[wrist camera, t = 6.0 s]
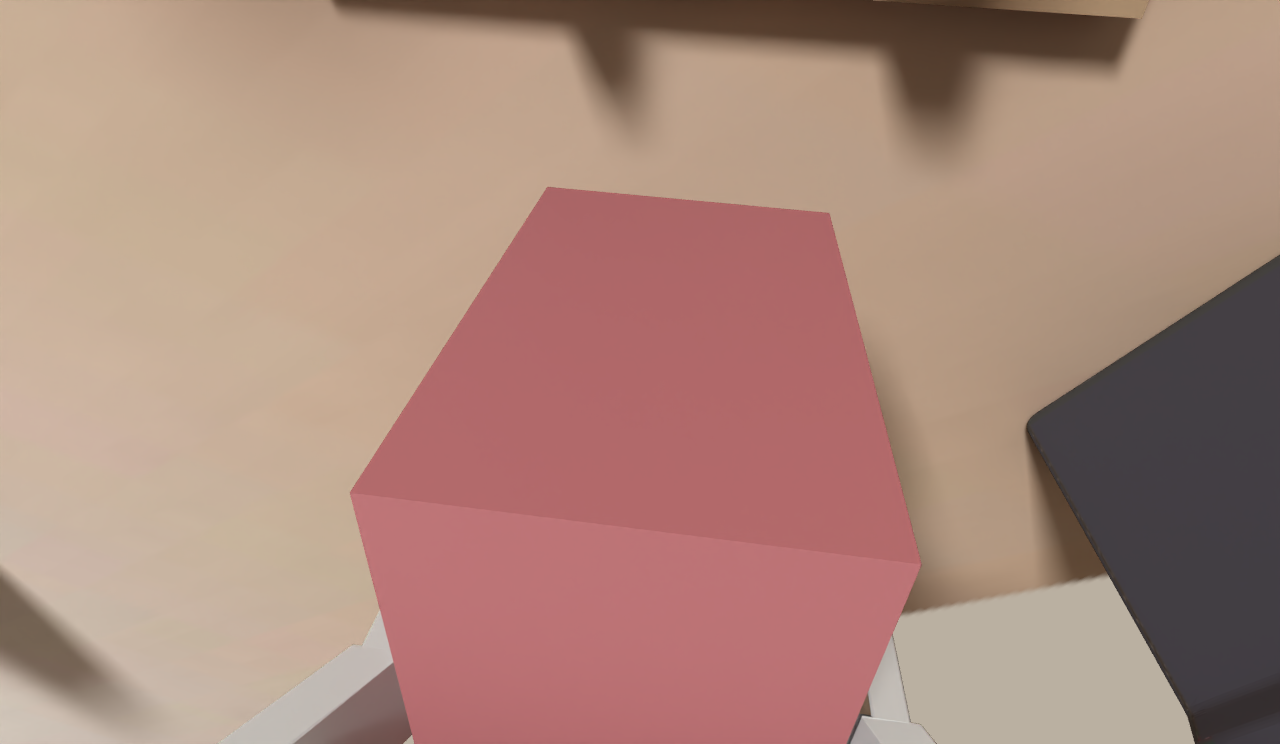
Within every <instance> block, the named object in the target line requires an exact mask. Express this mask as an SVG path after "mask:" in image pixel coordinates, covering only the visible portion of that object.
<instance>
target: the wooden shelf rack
mask: <svg viewBox="0 0 1280 744" xmlns="http://www.w3.org/2000/svg"><path fill="white" fill-rule="evenodd" d="M875 1H890V2H904V3H919V4H934V5H948V6H963V7H978V8H992V9H1007V10H1022V11H1036V12H1051V13H1065V14H1080V15H1095V16H1109V17H1124V18H1139V19H1142V17H1143V14H1144V12H1145V9H1146V7H1147V4H1148V2H1149V0H875Z"/></svg>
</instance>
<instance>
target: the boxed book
mask: <svg viewBox="0 0 1280 744" xmlns="http://www.w3.org/2000/svg"><path fill="white" fill-rule="evenodd" d="M350 495H351V499H352V503H353V507H354V511H355V515H356V519H357V522H358V526H359V530H360V534H361V538H362V542H363V546H364V550H365V554H366V557H367V561H368V565H369V569H370V573H371V577H372V581H373V585H374V589H375V592H376V596H377V600H378V604H379V608H380V612H381V616H382V620H383V623H384V627H385V631H386V635H387V639H388V643H389V647H390V651H391V655H392V658H393V662H394V666H395V670H396V674H397V678H398V682H399V686H400V689H401V693H402V697H403V701H404V705H405V709H406V713H407V717H408V721H409V724H410V728H411V732H412V735H413V740H414V744H846V743H847V741H848V738H849V736H850V733H851V731H852V729H853V726H854V724H855V722H856V719H857V717H858V715H859V712H860V710H861V707H862V705H863V703H864V700H865V698H866V696H867V693H868V691H869V688H870V686H871V684H872V681H873V679H874V677H875V674H876V672H877V669H878V667H879V665H880V662H881V660H882V658H883V655H884V653H885V650H886V648H887V646H888V643H889V641H890V639H891V636H892V634H893V631H894V629H895V627H896V624H897V622H898V620H899V617H900V615H901V612H902V610H903V608H904V605H905V603H906V601H907V598H908V596H909V593H910V591H911V589H912V586H913V584H914V582H915V579H916V577H917V574H918V572H919V570H920V567H921V565H922V564H921V560H920V556H919V553H918V549H917V545H916V541H915V537H914V534H913V530H912V526H911V522H910V518H909V514H908V511H907V507H906V503H905V499H904V495H903V492H902V488H901V484H900V480H899V476H898V473H897V469H896V465H895V461H894V457H893V454H892V450H891V446H890V442H889V438H888V435H887V431H886V427H885V423H884V419H883V416H882V412H881V408H880V404H879V400H878V396H877V393H876V389H875V385H874V381H873V377H872V374H871V370H870V366H869V362H868V358H867V355H866V351H865V347H864V343H863V339H862V336H861V332H860V328H859V324H858V320H857V317H856V313H855V309H854V305H853V301H852V298H851V294H850V290H849V286H848V282H847V279H846V275H845V271H844V267H843V263H842V259H841V256H840V252H839V248H838V244H837V240H836V237H835V233H834V229H833V225H832V221H831V218H830V214H829V213H823V212H812V211H801V210H790V209H780V208H769V207H758V206H747V205H736V204H726V203H715V202H704V201H693V200H682V199H672V198H661V197H650V196H639V195H628V194H618V193H607V192H596V191H585V190H574V189H564V188H553V187H547V188H546V190H545V192H544V193H543V195H542V196H541V198H540V199H539V201H538V202H537V204H536V205H535V207H534V209H533V210H532V212H531V213H530V215H529V216H528V218H527V219H526V221H525V222H524V224H523V226H522V227H521V229H520V230H519V232H518V233H517V235H516V236H515V238H514V239H513V241H512V243H511V244H510V246H509V247H508V249H507V250H506V252H505V253H504V255H503V256H502V258H501V260H500V261H499V263H498V264H497V266H496V267H495V269H494V270H493V272H492V273H491V275H490V277H489V278H488V280H487V281H486V283H485V284H484V286H483V287H482V289H481V291H480V292H479V294H478V295H477V297H476V298H475V300H474V301H473V303H472V304H471V306H470V308H469V309H468V311H467V312H466V314H465V315H464V317H463V318H462V320H461V321H460V323H459V325H458V326H457V328H456V329H455V331H454V332H453V334H452V335H451V337H450V338H449V340H448V342H447V343H446V345H445V346H444V348H443V349H442V351H441V352H440V354H439V355H438V357H437V359H436V360H435V362H434V363H433V365H432V366H431V368H430V369H429V371H428V373H427V374H426V376H425V377H424V379H423V380H422V382H421V383H420V385H419V386H418V388H417V390H416V391H415V393H414V394H413V396H412V397H411V399H410V400H409V402H408V403H407V405H406V407H405V408H404V410H403V411H402V413H401V414H400V416H399V417H398V419H397V420H396V422H395V424H394V425H393V427H392V428H391V430H390V431H389V433H388V434H387V436H386V437H385V439H384V441H383V442H382V444H381V445H380V447H379V448H378V450H377V451H376V453H375V455H374V456H373V458H372V459H371V461H370V462H369V464H368V465H367V467H366V468H365V470H364V472H363V473H362V475H361V476H360V478H359V479H358V481H357V482H356V484H355V485H354V487H353V489H352V490H351V492H350Z"/></svg>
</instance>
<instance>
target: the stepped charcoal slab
mask: <svg viewBox="0 0 1280 744" xmlns="http://www.w3.org/2000/svg"><path fill="white" fill-rule="evenodd" d="M1027 429H1028V432H1029V434H1030V436H1031V438H1032V439H1033V441H1034V443H1035V445H1036V447H1037V448H1038V450H1039V452H1040V454H1041V455H1042V457H1043V459H1044V461H1045V463H1046V464H1047V466H1048V468H1049V470H1050V472H1051V473H1052V475H1053V477H1054V479H1055V480H1056V482H1057V484H1058V486H1059V488H1060V489H1061V491H1062V493H1063V495H1064V497H1065V498H1066V500H1067V502H1068V504H1069V505H1070V507H1071V509H1072V511H1073V513H1074V514H1075V516H1076V518H1077V520H1078V522H1079V523H1080V525H1081V527H1082V529H1083V530H1084V532H1085V534H1086V536H1087V538H1088V539H1089V541H1090V543H1091V545H1092V546H1093V548H1094V550H1095V552H1096V554H1097V555H1098V557H1099V559H1100V561H1101V563H1102V564H1103V566H1104V568H1105V570H1106V571H1107V573H1108V575H1109V577H1110V579H1111V580H1112V582H1113V584H1114V586H1115V588H1116V589H1117V591H1118V593H1119V595H1120V596H1121V598H1122V600H1123V602H1124V604H1125V605H1126V607H1127V609H1128V611H1129V612H1130V614H1131V616H1132V618H1133V619H1134V621H1135V623H1136V625H1137V627H1138V628H1139V630H1140V632H1141V634H1142V636H1143V638H1144V639H1145V641H1146V643H1147V644H1148V646H1149V648H1150V650H1151V652H1152V654H1153V655H1154V657H1155V658H1156V661H1157V663H1158V664H1159V666H1160V668H1161V670H1162V671H1163V673H1164V675H1165V677H1166V679H1167V680H1168V682H1169V684H1170V686H1171V687H1172V689H1173V691H1174V693H1175V695H1176V696H1177V698H1178V700H1179V702H1180V704H1181V705H1182V707H1183V709H1184V711H1185V713H1186V715H1187V716H1188V720H1189V723H1190V727H1191V731H1192V734H1193V738H1194V742H1195V744H1280V255H1279V256H1277V257H1276V258H1274V259H1273V260H1271V261H1270V262H1268V263H1266V264H1265V265H1263V266H1262V267H1260V268H1259V269H1257V270H1256V271H1254V272H1253V273H1251V274H1250V275H1248V276H1247V277H1245V278H1243V279H1242V280H1240V281H1239V282H1237V283H1236V284H1234V285H1233V286H1231V287H1230V288H1228V289H1227V290H1225V291H1223V292H1222V293H1220V294H1219V295H1217V296H1216V297H1214V298H1213V299H1211V300H1210V301H1208V302H1207V303H1205V304H1203V305H1202V306H1200V307H1199V308H1197V309H1196V310H1194V311H1193V312H1191V313H1190V314H1188V315H1187V316H1185V317H1183V318H1182V319H1180V320H1179V321H1177V322H1176V323H1174V324H1173V325H1171V326H1170V327H1168V328H1167V329H1165V330H1163V331H1162V332H1160V333H1159V334H1157V335H1156V336H1154V337H1153V338H1151V339H1150V340H1148V341H1147V342H1145V343H1144V344H1142V345H1140V346H1139V347H1137V348H1136V349H1134V350H1133V351H1131V352H1130V353H1128V354H1127V355H1125V356H1124V357H1122V358H1120V359H1119V360H1117V361H1116V362H1114V363H1113V364H1111V365H1110V366H1108V367H1107V368H1105V369H1104V370H1102V371H1100V372H1099V373H1097V374H1096V375H1094V376H1093V377H1091V378H1090V379H1088V380H1087V381H1085V382H1084V383H1082V384H1080V385H1079V386H1077V387H1076V388H1074V389H1073V390H1071V391H1070V392H1068V393H1067V394H1065V395H1064V396H1062V397H1060V398H1059V399H1057V400H1056V401H1054V402H1053V403H1051V404H1050V405H1048V406H1047V407H1045V408H1044V409H1042V410H1041V411H1039V412H1038V413H1036V414H1035V415H1033V416H1032V417H1031V418H1030V420H1029V422H1028V424H1027Z"/></svg>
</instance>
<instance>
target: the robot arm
mask: <svg viewBox="0 0 1280 744" xmlns="http://www.w3.org/2000/svg"><path fill="white" fill-rule="evenodd" d="M411 735H412V732H411V728H410V724H409V721H408V717H407V713H406V709H405V705H404V701H403V697H402V693H401V689H400V686H399V682H398V678H397V674H396V670H395V666H394V662H393V658H392V655H391V651H390V647H389V643H388V639H387V635H386V631H385V627H384V623H383V620H382V616H381V612H380V611H379V613H378V615H377V617H376V619H375V621H374V623H373V624H372V626H371V628H370V630H369V632H368V634H367V636H366V638H365V640H364V642H363V644H362V645H356V644H353V645H351V646H350V647H349V648H347V649H346V650H344V651H343V652H342V653H340V654H339V655H338V656H336V657H335V658H333V659H332V660H331V661H329V662H328V663H327V664H325V665H324V666H323V667H321V668H320V669H318V670H317V671H316V672H314V673H313V674H312V675H310V676H309V677H308V678H306V679H305V680H303V681H302V682H301V683H299V684H298V685H297V686H295V687H294V688H292V689H291V690H290V691H288V692H287V693H286V694H284V695H283V696H282V697H280V698H279V699H277V700H276V701H275V702H273V703H272V704H271V705H269V706H268V707H267V708H265V709H264V710H262V711H261V712H260V713H258V714H257V715H256V716H254V717H253V718H251V719H250V720H249V721H247V722H246V723H245V724H243V725H242V726H241V727H239V728H238V729H236V730H235V731H234V732H232V733H231V734H230V735H228V736H227V737H225V738H224V739H223V740H221V741H220V742H219V743H217V744H403V743H404V742H405V741H406V740H407V739H408V738H409V737H410V736H411ZM846 744H936V742H935V741H934V740H933V739H932V737H931V736H930V735H929V734H928V732H927V731H926V730H925V729H924V727H923V726H922V725H921V724H917V723H911V721H910V716H909V711H908V707H907V701H906V697H905V693H904V687H903V682H902V677H901V673H900V668H899V663H898V658H897V653H896V648H895V643H894V638H893V634H892V636H891V639H890V641H889V643H888V646H887V648H886V650H885V653H884V655H883V658H882V660H881V662H880V665H879V667H878V669H877V672H876V674H875V677H874V679H873V681H872V684H871V686H870V688H869V691H868V693H867V696H866V698H865V700H864V703H863V705H862V707H861V710H860V712H859V715H858V717H857V719H856V722H855V724H854V726H853V729H852V731H851V733H850V736H849V738H848V741H847V743H846Z"/></svg>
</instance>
